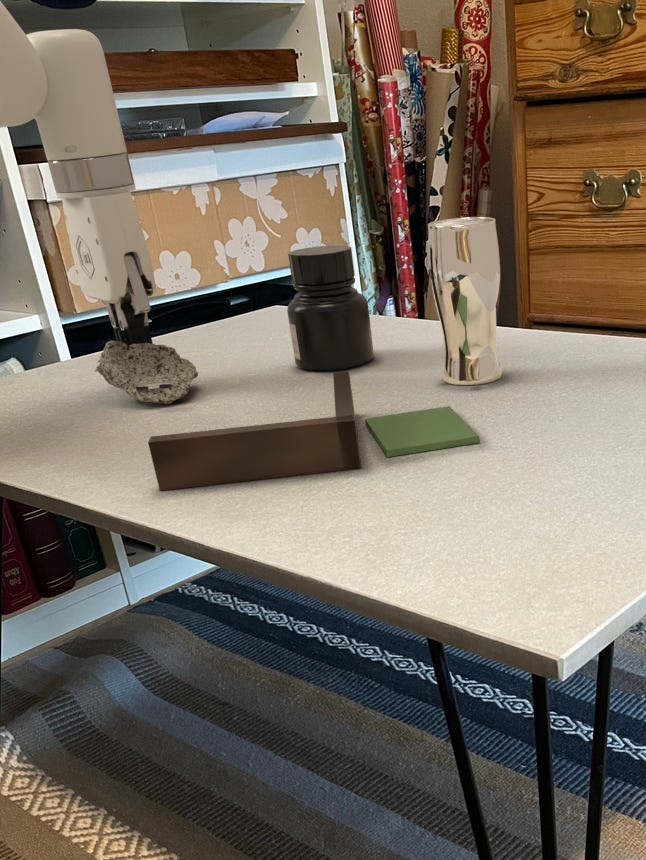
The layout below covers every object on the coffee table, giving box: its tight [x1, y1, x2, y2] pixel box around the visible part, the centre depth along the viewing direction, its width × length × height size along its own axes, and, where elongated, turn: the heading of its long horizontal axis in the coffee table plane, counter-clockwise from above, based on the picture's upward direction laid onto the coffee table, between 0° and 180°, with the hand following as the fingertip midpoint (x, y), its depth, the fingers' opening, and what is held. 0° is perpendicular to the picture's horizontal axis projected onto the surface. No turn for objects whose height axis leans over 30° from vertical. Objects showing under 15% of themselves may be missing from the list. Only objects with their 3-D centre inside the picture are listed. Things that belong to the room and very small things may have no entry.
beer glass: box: [427, 216, 503, 386], centre depth 98 cm, size 7×7×15 cm
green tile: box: [364, 405, 481, 458], centre depth 86 cm, size 8×10×1 cm
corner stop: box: [147, 370, 362, 492], centre depth 84 cm, size 16×16×4 cm
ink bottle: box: [286, 244, 375, 371], centre depth 108 cm, size 10×9×12 cm
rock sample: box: [94, 339, 202, 405], centre depth 102 cm, size 10×8×9 cm
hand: (140, 364), depth 106 cm, fingers closed
